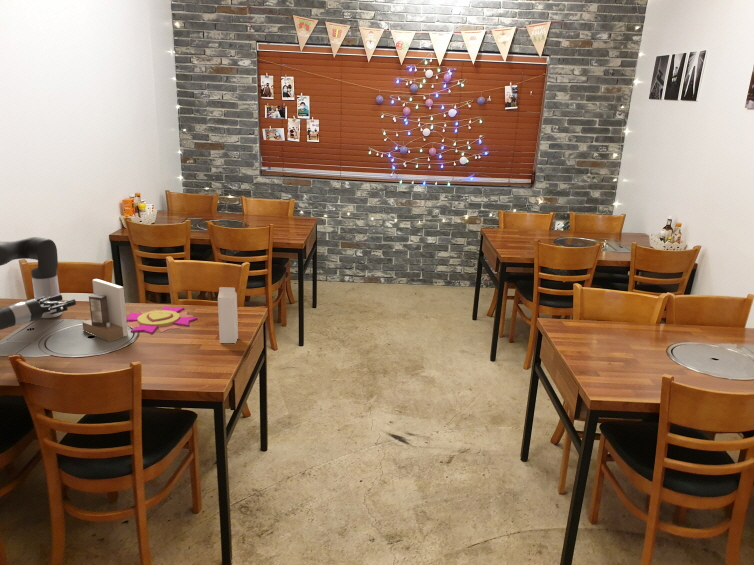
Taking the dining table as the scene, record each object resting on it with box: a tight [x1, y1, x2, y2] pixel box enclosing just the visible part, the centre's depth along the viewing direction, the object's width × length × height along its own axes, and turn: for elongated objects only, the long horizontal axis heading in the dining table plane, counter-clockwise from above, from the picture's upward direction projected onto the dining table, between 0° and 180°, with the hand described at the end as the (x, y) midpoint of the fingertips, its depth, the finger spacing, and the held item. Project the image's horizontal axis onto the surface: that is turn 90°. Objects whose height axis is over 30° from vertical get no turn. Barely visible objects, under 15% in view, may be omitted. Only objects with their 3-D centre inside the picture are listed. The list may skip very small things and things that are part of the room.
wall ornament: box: [126, 305, 198, 335], centre depth 246 cm, size 30×2×30 cm
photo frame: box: [88, 293, 109, 327], centre depth 227 cm, size 6×3×12 cm, turn 77°
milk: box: [217, 286, 239, 344], centre depth 225 cm, size 6×6×22 cm
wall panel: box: [81, 278, 129, 342], centre depth 228 cm, size 17×8×20 cm, turn 58°
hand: (68, 299), depth 216 cm, fingers open, 8 cm apart
